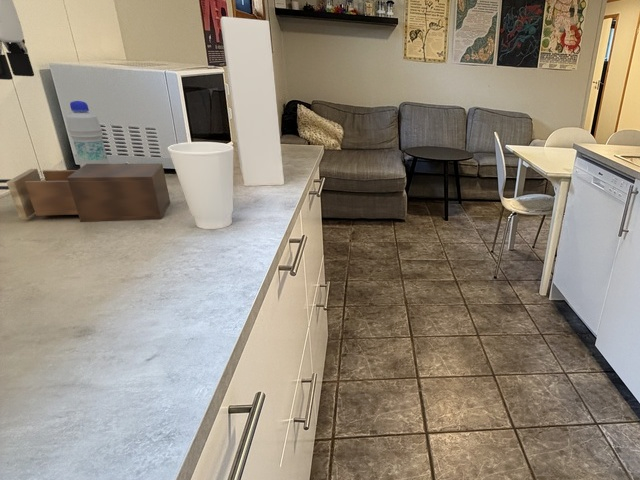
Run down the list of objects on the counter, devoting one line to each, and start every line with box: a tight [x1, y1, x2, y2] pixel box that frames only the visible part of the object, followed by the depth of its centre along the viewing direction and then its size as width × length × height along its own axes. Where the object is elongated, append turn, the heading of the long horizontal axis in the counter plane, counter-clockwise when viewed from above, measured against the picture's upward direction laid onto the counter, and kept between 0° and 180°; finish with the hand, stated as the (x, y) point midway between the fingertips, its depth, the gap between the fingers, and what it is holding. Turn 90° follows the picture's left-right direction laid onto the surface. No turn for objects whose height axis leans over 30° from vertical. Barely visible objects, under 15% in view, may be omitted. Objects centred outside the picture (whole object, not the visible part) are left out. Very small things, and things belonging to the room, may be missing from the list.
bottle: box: [65, 100, 110, 168], centre depth 116 cm, size 7×7×20 cm
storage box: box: [219, 16, 285, 187], centre depth 130 cm, size 21×10×40 cm, turn 24°
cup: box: [167, 141, 235, 230], centre depth 97 cm, size 12×12×16 cm
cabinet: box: [67, 163, 171, 223], centre depth 102 cm, size 15×13×9 cm
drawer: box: [0, 168, 78, 220], centre depth 98 cm, size 20×11×7 cm, turn 110°
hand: (13, 77), depth 88 cm, fingers open, 9 cm apart
